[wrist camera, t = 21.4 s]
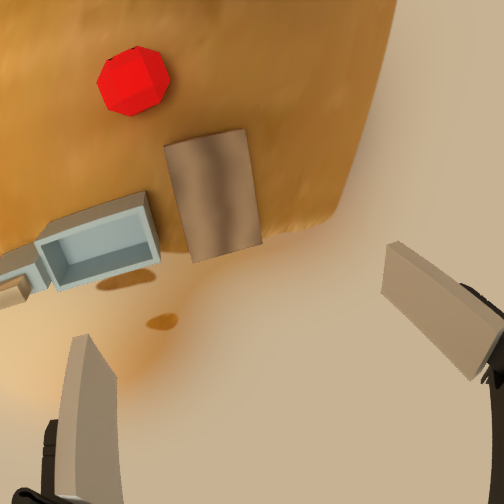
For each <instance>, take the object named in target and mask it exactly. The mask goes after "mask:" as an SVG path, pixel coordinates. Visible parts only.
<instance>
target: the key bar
mask: <svg viewBox="0 0 504 504" xmlns="http://www.w3.org/2000/svg"><path fill="white" fill-rule="evenodd" d="M32 289H33V288H32V287H31V285H30V283H29V281H28V279H27V277H26V275H25V273H24V274H22V275H19V276H16V277H13V278H10V279H8V280H5V281H2V282H0V310H1V309H4V308H7V307H10V306H13V305H17V304H20V303H23V302H26V300H27V298H28V296H29V295H30V293H31V291H32Z"/></svg>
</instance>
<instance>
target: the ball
mask: <svg viewBox="0 0 504 504" xmlns="http://www.w3.org/2000/svg"><path fill="white" fill-rule="evenodd" d="M169 83H170V77H169V75H168V73H167V70H166V68H165V65H164V63H163V60H162V58H161V55H160V53H159V52H156V51H153V50H150V49H146V48H143V47H140V46H136V47H134V48H132V49H128V50H126V51H124V52H122V53H120V54H118V55H116V56H114V57H113V58H111V59H109V60H106V63H105V65H104V67H103V69H102V71H101V73H100V76H99V78H98V80H97V85H98V87H99V90H100V92H101V95H102V97H103V99H104V102H105V104H106V107H107V109H108V110H111V111H114V112H117V113H121V114H124V115H127V116H134V115H136V114H138V113H140V112H142V111H144V110H147V109H149V108H151V107H153V106H155V105H157V104H159V103H160V102H161V100H162V98H163V96H164V94H165V91H166V89H167V87H168V85H169Z"/></svg>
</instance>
